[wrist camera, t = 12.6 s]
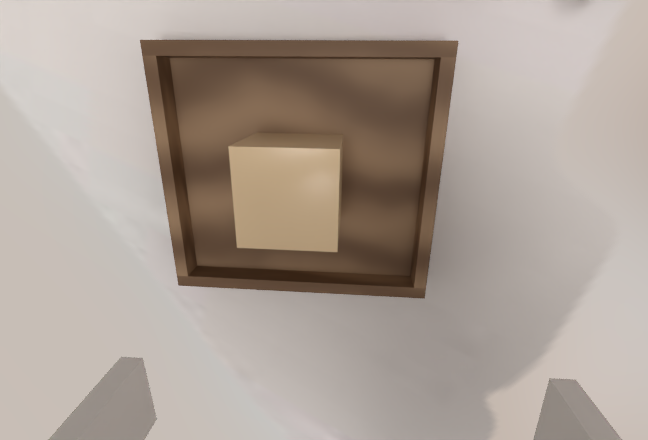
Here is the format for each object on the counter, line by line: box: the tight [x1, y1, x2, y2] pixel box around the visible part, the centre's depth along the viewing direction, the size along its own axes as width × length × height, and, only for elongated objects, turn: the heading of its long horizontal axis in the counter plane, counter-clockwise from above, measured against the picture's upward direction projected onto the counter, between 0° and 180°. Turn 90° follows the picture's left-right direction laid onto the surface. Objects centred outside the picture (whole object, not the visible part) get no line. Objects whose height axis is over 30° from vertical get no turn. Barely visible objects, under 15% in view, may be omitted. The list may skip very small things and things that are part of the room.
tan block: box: [228, 133, 343, 252], centre depth 26 cm, size 7×7×7 cm
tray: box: [140, 40, 458, 298], centre depth 29 cm, size 20×22×3 cm
